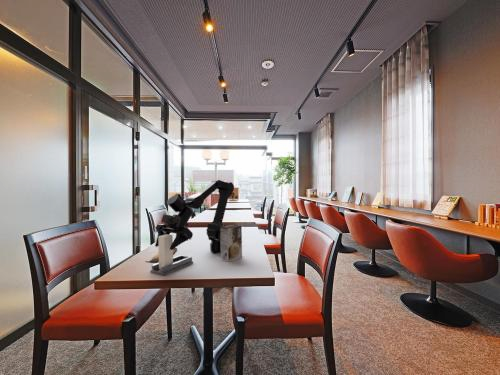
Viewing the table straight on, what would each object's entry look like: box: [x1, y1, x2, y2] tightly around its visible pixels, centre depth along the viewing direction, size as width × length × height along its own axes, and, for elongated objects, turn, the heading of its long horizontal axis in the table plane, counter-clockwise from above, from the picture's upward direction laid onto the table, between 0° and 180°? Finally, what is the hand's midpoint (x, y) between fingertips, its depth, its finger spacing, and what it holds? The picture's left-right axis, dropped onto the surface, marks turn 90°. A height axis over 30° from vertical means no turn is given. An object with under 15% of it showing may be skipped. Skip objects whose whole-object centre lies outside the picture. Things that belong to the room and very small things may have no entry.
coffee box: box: [220, 224, 243, 263], centre depth 117 cm, size 9×6×16 cm
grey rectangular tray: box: [150, 254, 194, 277], centre depth 105 cm, size 16×8×3 cm, turn 149°
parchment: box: [145, 247, 178, 263], centre depth 124 cm, size 25×10×1 cm, turn 0°
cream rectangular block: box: [157, 234, 174, 269], centre depth 101 cm, size 4×4×14 cm
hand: (163, 247), depth 100 cm, fingers open, 9 cm apart
